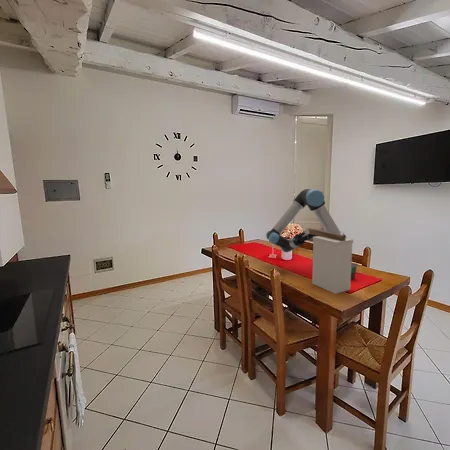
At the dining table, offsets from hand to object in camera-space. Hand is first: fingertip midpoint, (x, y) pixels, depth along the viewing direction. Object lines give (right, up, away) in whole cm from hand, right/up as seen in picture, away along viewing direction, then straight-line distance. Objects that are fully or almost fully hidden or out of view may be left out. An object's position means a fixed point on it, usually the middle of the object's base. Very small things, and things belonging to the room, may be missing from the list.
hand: (316, 230), depth 167 cm
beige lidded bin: (+6, -34, -6) cm, 35 cm away
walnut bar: (+3, -4, -5) cm, 7 cm away
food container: (+22, -32, +9) cm, 40 cm away
